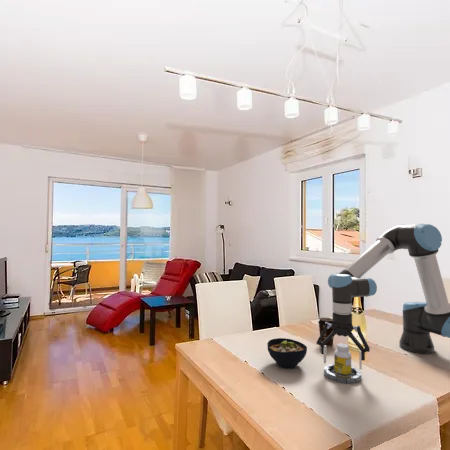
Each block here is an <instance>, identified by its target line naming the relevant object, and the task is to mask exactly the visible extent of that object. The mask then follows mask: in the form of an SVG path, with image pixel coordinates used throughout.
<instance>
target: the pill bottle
mask: <svg viewBox="0 0 450 450" xmlns="http://www.w3.org/2000/svg"><path fill="white" fill-rule="evenodd" d="M349 350H350V346H349V345H348V344H346V343H337V344H336V349H335V351H334V353H333V355H334V356H333V359H334V362H333V364H334V371H335V374H336V375H338V376H343V377H349V376H351V366H352V354H351V352H350V351H349Z"/></svg>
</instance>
